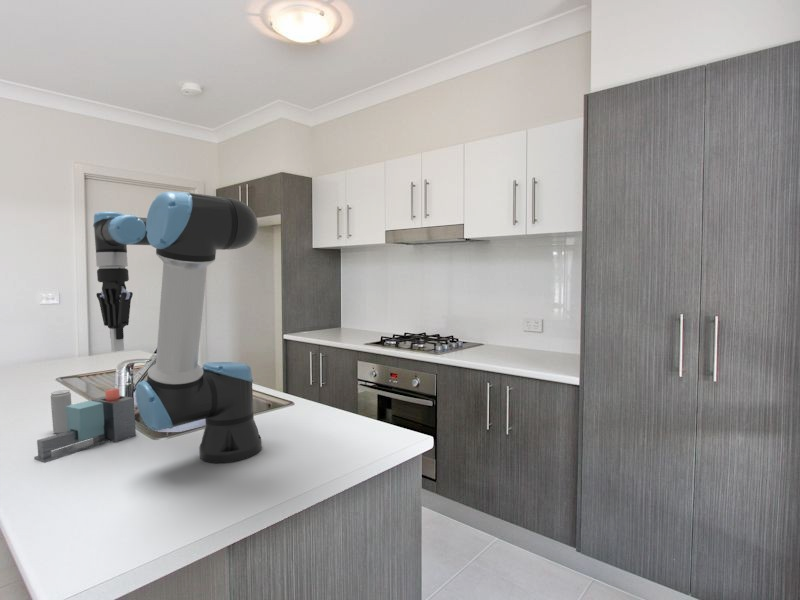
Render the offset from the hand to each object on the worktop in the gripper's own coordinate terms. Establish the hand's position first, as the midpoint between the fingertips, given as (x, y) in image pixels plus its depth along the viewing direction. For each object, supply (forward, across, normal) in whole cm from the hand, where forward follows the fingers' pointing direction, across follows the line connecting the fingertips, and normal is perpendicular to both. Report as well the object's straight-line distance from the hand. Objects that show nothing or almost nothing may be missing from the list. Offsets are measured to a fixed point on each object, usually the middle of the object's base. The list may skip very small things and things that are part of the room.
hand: (117, 350), depth 131 cm
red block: (+16, +2, +1) cm, 17 cm away
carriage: (+22, +2, +9) cm, 24 cm away
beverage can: (+25, +21, +5) cm, 33 cm away
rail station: (+25, +2, +9) cm, 26 cm away
